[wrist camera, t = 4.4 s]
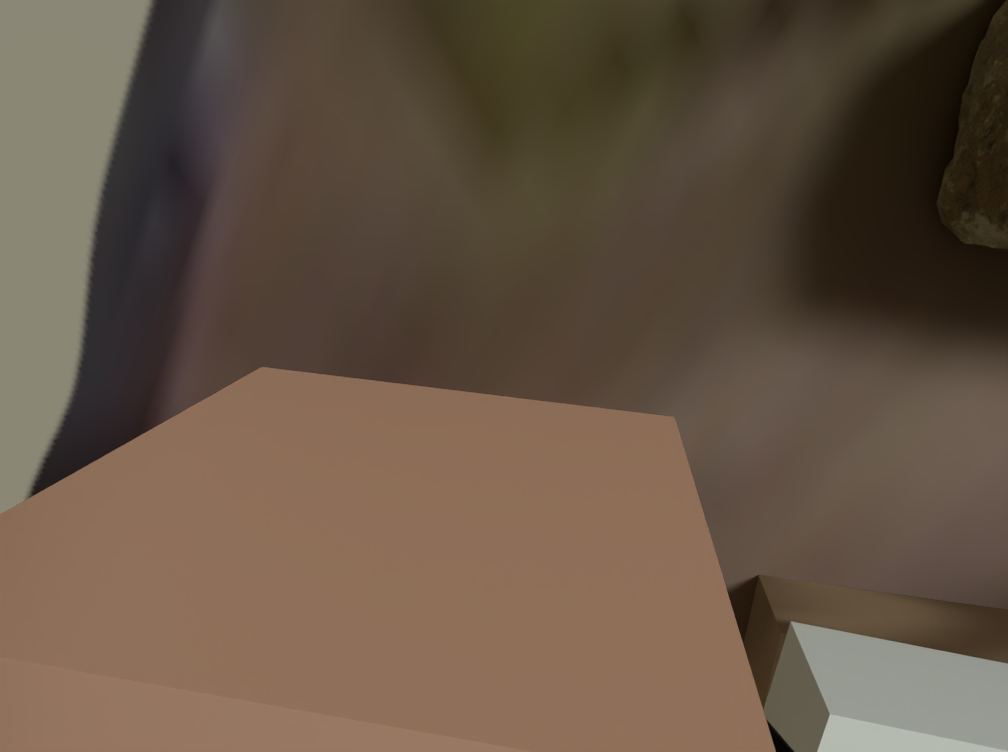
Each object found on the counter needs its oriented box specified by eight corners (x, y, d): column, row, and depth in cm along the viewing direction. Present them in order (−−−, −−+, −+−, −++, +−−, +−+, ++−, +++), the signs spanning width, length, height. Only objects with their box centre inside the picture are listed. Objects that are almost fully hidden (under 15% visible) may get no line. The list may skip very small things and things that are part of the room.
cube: (674, 417, 8) (788, 797, 3) (618, 758, 9) (636, 1377, 4) (261, 367, 8) (-190, 622, 4) (270, 697, 10) (-42, 1189, 5)
